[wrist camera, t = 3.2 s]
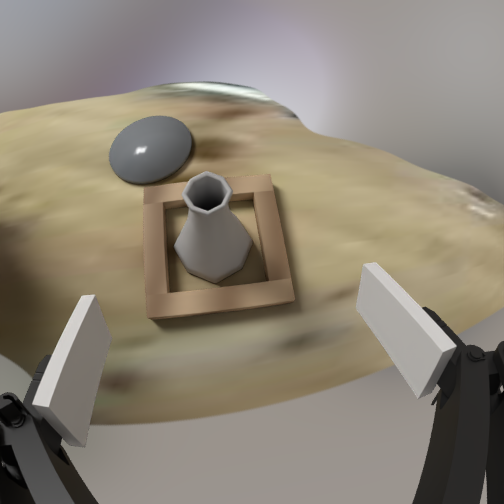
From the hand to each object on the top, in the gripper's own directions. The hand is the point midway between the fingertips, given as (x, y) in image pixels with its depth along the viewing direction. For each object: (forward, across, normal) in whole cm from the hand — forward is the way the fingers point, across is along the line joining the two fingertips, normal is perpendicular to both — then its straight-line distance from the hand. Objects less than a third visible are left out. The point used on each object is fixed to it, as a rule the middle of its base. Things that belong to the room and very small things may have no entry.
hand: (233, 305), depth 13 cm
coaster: (+24, -7, +6) cm, 26 cm away
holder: (+15, -1, -3) cm, 15 cm away
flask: (+15, -1, -4) cm, 15 cm away
